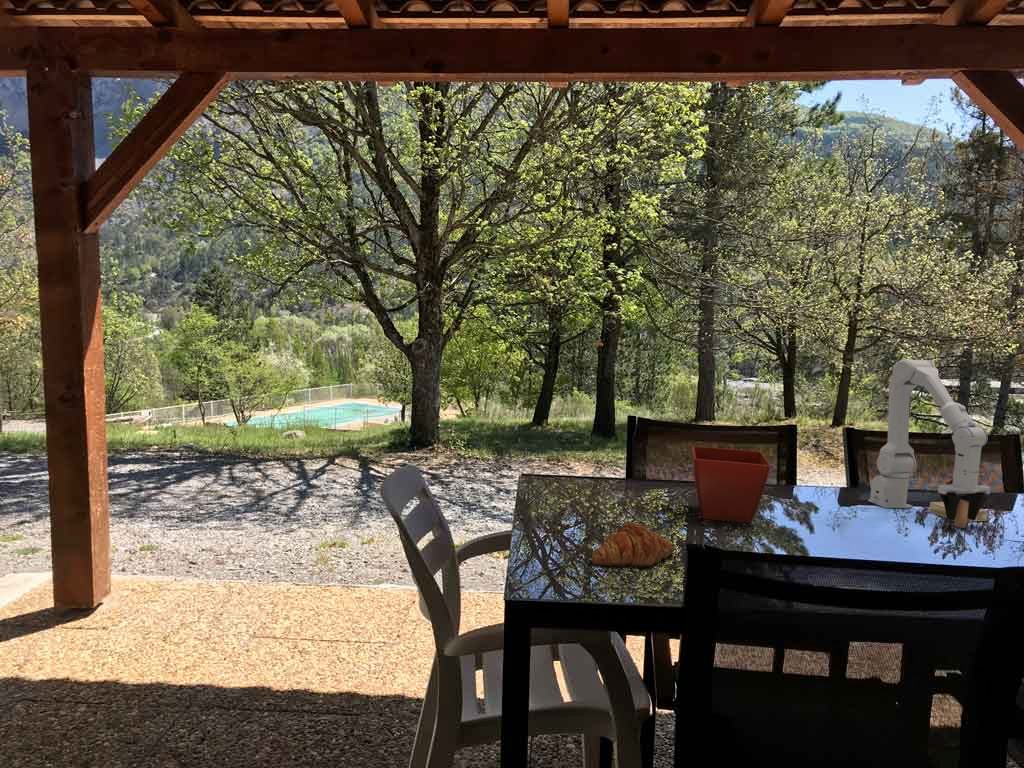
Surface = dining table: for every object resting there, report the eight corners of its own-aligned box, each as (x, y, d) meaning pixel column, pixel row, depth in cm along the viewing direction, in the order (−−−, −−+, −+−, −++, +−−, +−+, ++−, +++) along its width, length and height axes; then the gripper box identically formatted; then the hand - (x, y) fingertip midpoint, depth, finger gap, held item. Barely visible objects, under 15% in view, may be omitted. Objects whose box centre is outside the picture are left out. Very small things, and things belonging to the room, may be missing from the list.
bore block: (955, 522, 208) (956, 511, 208) (929, 512, 218) (930, 502, 218) (986, 521, 210) (987, 511, 210) (959, 511, 220) (960, 501, 220)
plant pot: (765, 528, 193) (771, 464, 191) (689, 521, 197) (694, 458, 195) (757, 510, 211) (761, 451, 210) (687, 503, 215) (691, 445, 213)
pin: (959, 527, 202) (962, 502, 202) (951, 524, 205) (954, 499, 204) (968, 527, 203) (971, 502, 202) (960, 524, 206) (963, 499, 205)
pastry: (660, 578, 154) (663, 540, 153) (588, 565, 159) (590, 529, 158) (674, 554, 169) (676, 520, 168) (608, 544, 175) (610, 510, 174)
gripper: (954, 473, 197) (948, 523, 198) (1001, 473, 200) (995, 523, 201) (934, 467, 204) (929, 516, 205) (980, 468, 207) (975, 516, 208)
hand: (960, 519), depth 204 cm, fingers open, 6 cm apart
